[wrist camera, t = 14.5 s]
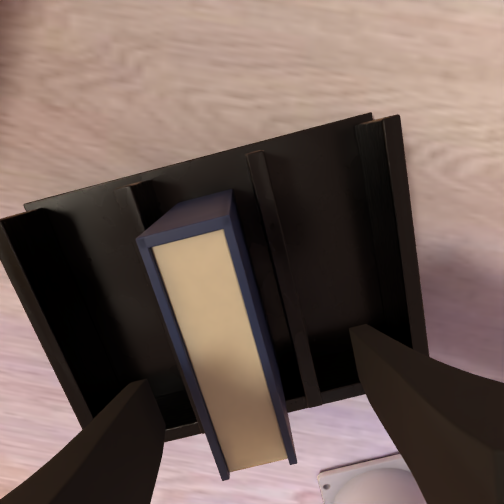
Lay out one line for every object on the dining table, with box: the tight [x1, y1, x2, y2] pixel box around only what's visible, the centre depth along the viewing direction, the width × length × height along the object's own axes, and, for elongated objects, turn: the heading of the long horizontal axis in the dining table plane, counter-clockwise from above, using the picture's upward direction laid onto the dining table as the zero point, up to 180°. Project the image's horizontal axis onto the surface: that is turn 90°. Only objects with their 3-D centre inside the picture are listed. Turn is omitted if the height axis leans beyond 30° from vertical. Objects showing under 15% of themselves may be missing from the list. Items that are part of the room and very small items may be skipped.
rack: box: [0, 112, 429, 442], centre depth 18 cm, size 14×19×4 cm
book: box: [136, 189, 297, 481], centre depth 16 cm, size 10×3×8 cm, turn 14°
